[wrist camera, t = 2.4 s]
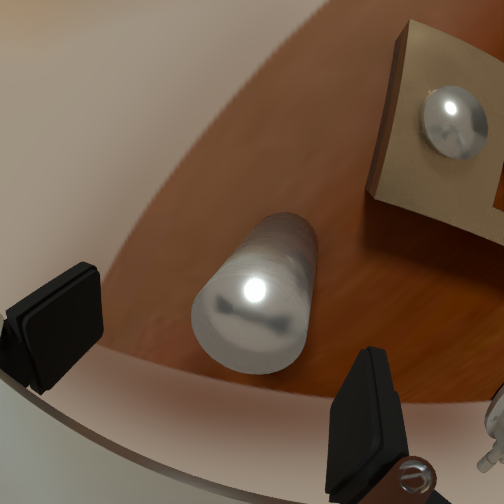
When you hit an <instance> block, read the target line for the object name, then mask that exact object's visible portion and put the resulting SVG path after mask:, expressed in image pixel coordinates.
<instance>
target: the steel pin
mask: <svg viewBox="0 0 504 504" xmlns="http://www.w3.org/2000/svg"><path fill="white" fill-rule="evenodd" d="M317 253H318V240H317V236H316V233H315V231H314V229H313V228H312V226H311V225H310V224H309V223H308V222H307V221H306V220H305V219H303V218H302V217H300V216H298V215H295V214H292V213H285V212H282V213H275V214H272V215H269V216H267V217H266V218H264V219H263V220H262V221H261V222H260V223H259V224H258V225H257V226H256V227H255V228H254V230H253V231H252V232H251V233H250V234H249V235H248V237H247V238H246V239H245V240H244V241H243V242H242V243H241V245H240V246H239V247H238V248H237V249H236V250H235V252H234V253H233V254H232V255H231V256H230V257H229V258H228V260H227V261H226V262H225V263H224V264H223V265H222V267H221V268H220V269H219V270H218V271H217V272H216V274H215V275H214V276H213V277H212V278H211V279H210V281H209V282H208V283H207V284H206V285H205V286H204V288H203V289H202V290H201V291H200V292H199V294H198V295H197V297H196V298H195V300H194V303H193V306H192V311H191V322H192V328H193V331H194V334H195V336H196V338H197V340H198V342H199V343H200V345H201V346H202V348H203V349H204V350H205V351H206V352H207V353H208V354H209V355H210V356H211V357H212V358H213V359H214V360H216V361H217V362H219V363H220V364H222V365H223V366H225V367H228V368H230V369H232V370H235V371H238V372H242V373H247V374H268V373H273V372H276V371H279V370H281V369H284V368H285V367H287V366H289V365H290V364H291V363H293V362H294V361H295V360H296V359H297V358H298V356H299V355H300V353H301V352H302V350H303V348H304V345H305V341H306V336H307V329H308V323H309V316H310V309H311V301H312V294H313V286H314V278H315V270H316V262H317Z"/></svg>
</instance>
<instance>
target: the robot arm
mask: <svg viewBox="0 0 504 504" xmlns="http://www.w3.org/2000/svg"><path fill="white" fill-rule="evenodd" d="M6 315H7V319H6V320H4V319H3V316H2V315H1V314H0V504H304V503H299V502H293V501H287V500H282V499H277V498H273V497H268V496H263V495H260V494H255V493H251V492H247V491H243V490H239V489H235V488H232V487H228V486H224V485H221V484H218V483H214V482H211V481H208V480H205V479H202V478H199V477H196V476H193V475H190V474H187V473H184V472H182V471H179V470H176V469H174V468H171V467H168V466H166V465H163V464H161V463H159V462H156V461H154V460H151V459H149V458H147V457H145V456H142V455H140V454H138V453H136V452H133V451H131V450H129V449H127V448H125V447H123V446H121V445H119V444H117V443H115V442H113V441H111V440H109V439H107V438H105V437H103V436H101V435H99V434H97V433H95V432H94V431H92V430H90V429H88V428H87V427H85V426H83V425H81V424H80V423H78V422H76V421H75V420H73V419H71V418H70V417H68V416H66V415H64V414H63V413H62V412H60V411H58V410H57V409H55V408H54V407H52V406H50V405H49V404H48V403H46V402H45V401H43V400H41V399H40V398H39V397H37V396H36V395H35V394H33V393H32V392H30V391H29V390H28V389H26V388H27V387H28V386H29V385H30V387H31V389H32V390H34V391H35V392H37V393H38V394H39V395H42V394H43V393H44V392H45V391H46V390H50V389H51V388H52V387H53V386H54V385H55V384H56V383H57V382H58V381H59V380H60V379H61V378H62V377H63V376H64V375H65V374H66V373H67V372H68V371H69V370H70V369H71V368H72V366H73V365H74V364H75V363H76V362H77V361H78V360H79V359H80V358H81V357H82V356H83V355H84V354H85V353H86V352H87V351H88V350H89V349H90V348H91V347H92V346H93V345H94V344H95V343H96V342H97V341H98V340H99V339H100V338H101V337H102V335H103V331H104V328H103V317H102V303H101V286H100V273H99V272H98V271H97V267H95V266H94V265H91V264H88V263H86V262H80V263H78V264H77V265H75V266H73V267H72V268H70V269H69V270H67V271H65V272H64V273H62V274H61V275H59V276H57V277H56V278H54V279H53V280H51V281H50V282H48V283H46V284H45V285H43V286H42V287H40V288H39V289H37V290H36V291H34V292H33V293H31V294H30V295H28V296H27V297H25V298H24V299H22V300H21V301H19V302H18V303H16V304H15V305H13V306H12V307H10V308H9V309H8V310H6ZM485 427H486V430H487V432H488V435H489V436H490V437H492V438H494V439H496V442H495V443H494V444H493V449H492V450H491V451H490V452H488V453H487V454H486V455H485V456H484V457H483V458H482V459H481V460H480V461H479V462H478V463H477V468H478V470H479V471H480V472H482V473H485V472H487V471H488V470H489V469H490V468H491V467H493V466H494V465H495V464H496V462H497V461H498V460H499V461H500V463H502V464H504V385H503V386H502V388H501V389H500V390H499V391H498V393H497V394H496V396H495V397H494V399H493V400H492V402H491V404H490V406H489V408H488V410H487V413H486V416H485ZM436 480H437V477H436V473H435V470H434V469H433V467H432V465H431V464H430V463H429V462H428V461H426V460H424V459H422V458H420V457H416V456H409V451H408V445H407V438H406V432H405V426H404V420H403V415H402V409H401V404H400V399H399V395H398V393H397V392H396V391H394V388H393V383H392V378H391V373H390V368H389V364H388V359H387V355H386V351H385V350H384V349H380V348H375V347H371V346H369V347H367V348H366V350H364V349H362V350H361V351H360V352H359V354H358V356H357V358H356V360H355V362H354V364H353V366H352V368H351V370H350V372H349V373H348V375H347V377H346V379H345V381H344V383H343V385H342V387H341V388H340V390H339V392H338V394H337V396H336V397H335V399H334V401H333V403H332V405H331V409H330V425H329V444H328V459H327V473H326V484H325V493H327V494H330V496H329V502H331V503H340V504H451V503H450V502H449V501H448V500H446V499H445V498H444V497H443V496H442V495H440V494H439V493H438V492H437V491H436V490H434V488H435V486H436Z"/></svg>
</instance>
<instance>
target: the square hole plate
mask: <svg viewBox="0 0 504 504" xmlns="http://www.w3.org/2000/svg"><path fill="white" fill-rule="evenodd" d="M503 162H504V63H503V62H501V61H499V60H498V59H496V58H494V57H492V56H491V55H489V54H487V53H485V52H483V51H481V50H480V49H478V48H476V47H474V46H472V45H470V44H468V43H466V42H464V41H462V40H460V39H457V38H455V37H453V36H451V35H449V34H446V33H444V32H442V31H439V30H437V29H435V28H432V27H430V26H427V25H425V24H422V23H419V22H417V21H414V20H411V19H410V20H409V21H408V23H407V24H406V26H405V27H404V29H403V30H402V32H401V33H400V35H399V37H398V38H397V40H396V41H395V48H394V54H393V61H392V67H391V73H390V78H389V84H388V89H387V95H386V100H385V105H384V110H383V115H382V119H381V124H380V129H379V133H378V138H377V142H376V146H375V150H374V155H373V159H372V163H371V167H370V171H369V175H368V178H367V182H366V186H365V189H366V190H367V191H368V192H369V193H370V194H371V196H372V197H373V198H374V199H377V200H380V201H383V202H386V203H389V204H392V205H395V206H399V207H402V208H405V209H408V210H411V211H414V212H417V213H419V214H422V215H425V216H428V217H431V218H434V219H437V220H439V221H442V222H445V223H448V224H450V225H453V226H456V227H458V228H461V229H463V230H466V231H469V232H471V233H474V234H476V235H479V236H481V237H484V238H486V239H489V240H491V241H493V242H496V243H498V244H501V245H503V246H504V212H503V211H501V210H498V209H496V208H494V207H492V205H493V202H494V198H495V195H496V191H497V187H498V183H499V179H500V175H501V171H502V167H503Z"/></svg>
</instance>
